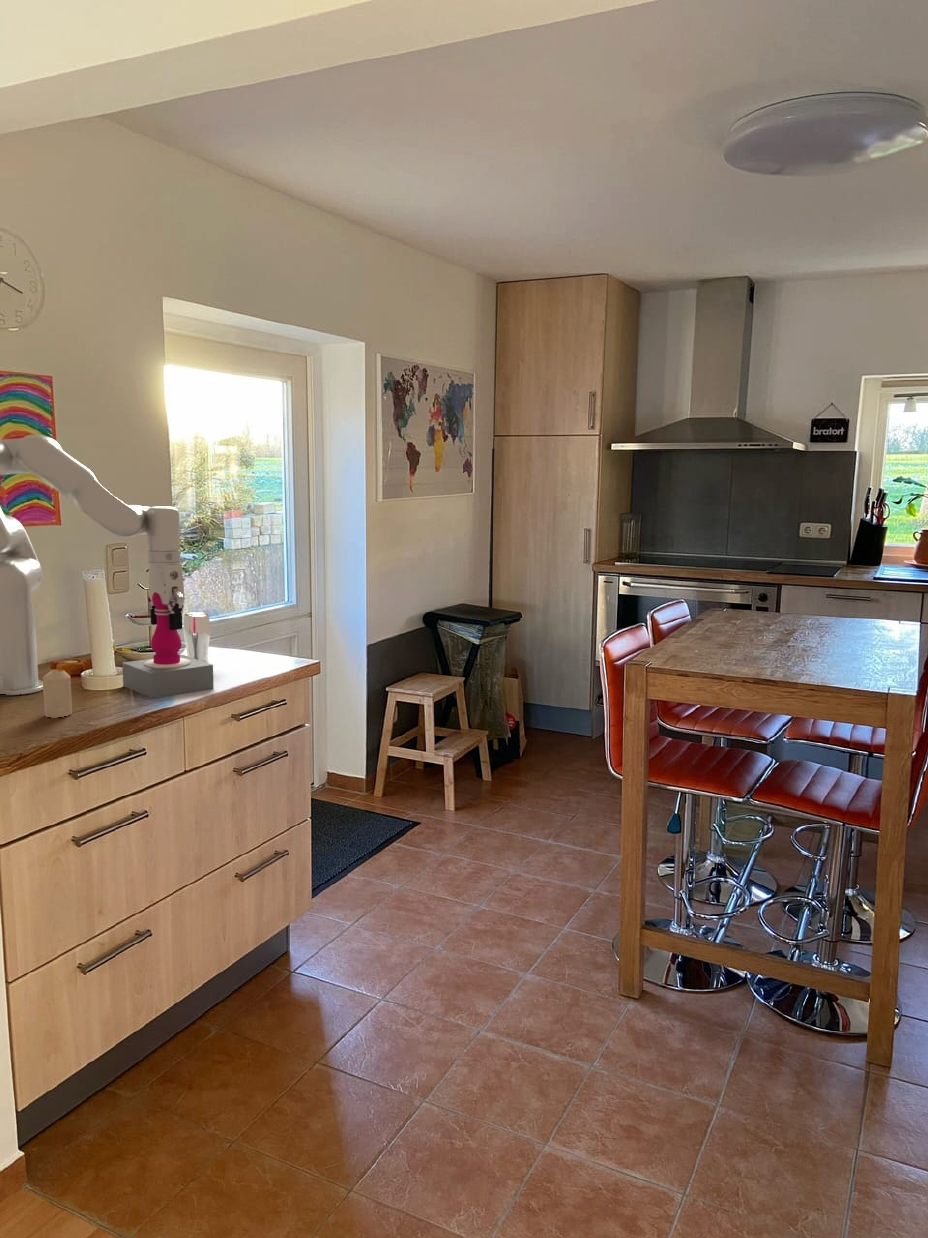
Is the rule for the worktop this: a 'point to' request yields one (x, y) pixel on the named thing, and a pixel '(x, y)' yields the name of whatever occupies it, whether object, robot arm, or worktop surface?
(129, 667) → the riser
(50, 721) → the worktop surface
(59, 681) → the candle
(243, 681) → the worktop surface
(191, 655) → the beer glass
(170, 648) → the pepper mill
